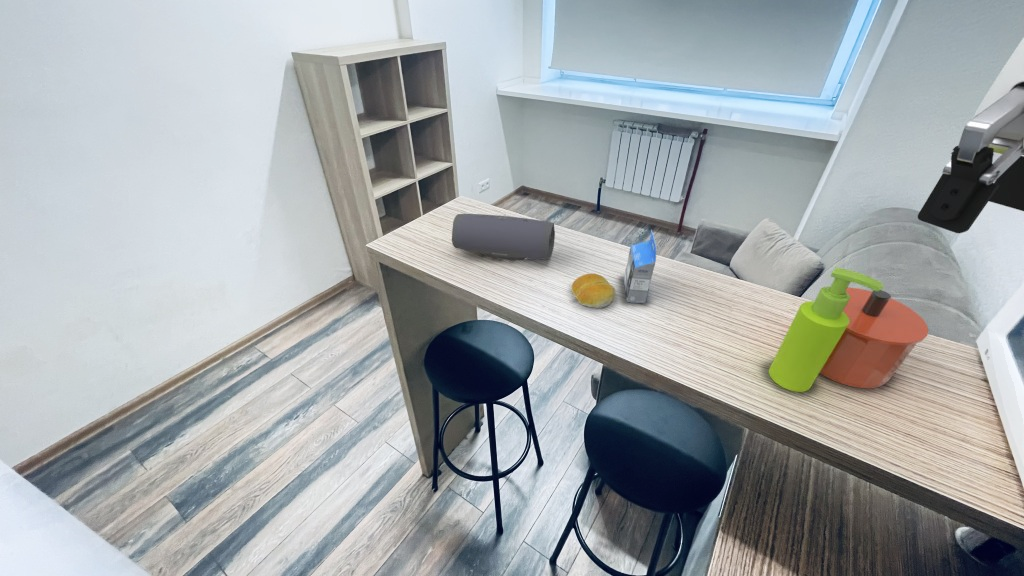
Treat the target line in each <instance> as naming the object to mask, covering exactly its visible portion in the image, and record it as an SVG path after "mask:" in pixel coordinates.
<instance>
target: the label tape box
mask: <svg viewBox="0 0 1024 576" xmlns="http://www.w3.org/2000/svg"><path fill="white" fill-rule="evenodd" d="M657 251H658V250H657V243H656V239H655V236H654V233H653V229H650V235H649V240H646V241H643V242H639V243H636V244H631V245H630V246H629V252H628V255H627V256H628V257H627V261H626V267H625V270H624V275H623V285H624V289H625V290H624V291H625V298H626V302H627V303H632V304H646V301H647V297H648V293H649V289H650V286H651V281H652V278H653V273H654V269H655V266H656V262H657Z"/></svg>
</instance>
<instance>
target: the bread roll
mask: <svg viewBox="0 0 1024 576" xmlns="http://www.w3.org/2000/svg"><path fill="white" fill-rule="evenodd" d="M571 292H572V294H573V296H575V298H576V299H577V302H578V303H579V304H580V305H582V306H585V307H589V308H596V309H602V308H604V307H607V306H609V305H611V304H612V302H614V299H615V296H616V291H615V288H614V286H613V285H611V284H610V282H609V281H608V279H606V278H605V277H604V276H602V275H601V274H597V273H586V274H582V275H580V276H578V277H577V278H576V279H575V280H574V281H573V282H572V284H571Z"/></svg>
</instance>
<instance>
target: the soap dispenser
mask: <svg viewBox="0 0 1024 576" xmlns="http://www.w3.org/2000/svg"><path fill="white" fill-rule="evenodd" d="M830 277H832V278H834V280H833V281H832V282H831V284H830V286H823V287H821V288H820V290H819V292H818V294H817V296H816V298H815V299H814V300H809V301H804V302H803V303H801V304H800V305H799V307H798V310H797V311H796V314H795V316H794V318H793V320H792V322H791V324H790V326H789V328H788V330H787V332H786V334H785V336H784V338H783V340H782V342H781V344H780V346H779V348H778V350H777V352H776V354H775V356H774V358H773V361H772V363H771V364H770V367H769V368H768V374H769V377H770V378H771V379H772V381H773V382H774V383H775V384H776V385H778V386H779V387H781V388H783V389H786V390H788V391H791V392H795V393H803V392H807V391H809V390H810V389H811V387H812V386H813V384H814V383H815V381H816V380H817V377H818V376H819V375H820V371H821V369H822V368H823V366H824V364H825V363H826V361H827V359H828V358H829V356H830V354H831V353H832V351H833V349H834V348H835V346H836V344H837V343H838V341H839V339H840V338H841V336H842V334H843V333H844V331H845V329H846V328H847V326H848V324H849V318H848V316H847V315H846V314H845V313H844V312H843V310H844V308H845V307H846V305H847V303H848V301H849V300H850V296H849V294H848V293H846V292H845V291H846V289H847V287H849V286H850V284H851V283H854V284H857V285H860V286H863V287H866V288H868V289H870V290H872V291H873V290H874V291H881V290H882V291H883V287H884V283H882V282H881V281H879V280H877V279H875V278H874V277H871V276H869V275H866V274H863V273H861V272H857V271H854V270H850V269H846V268H842V267H836V266H835V267H834V269H833V271H832V272H831V274H830Z"/></svg>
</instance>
